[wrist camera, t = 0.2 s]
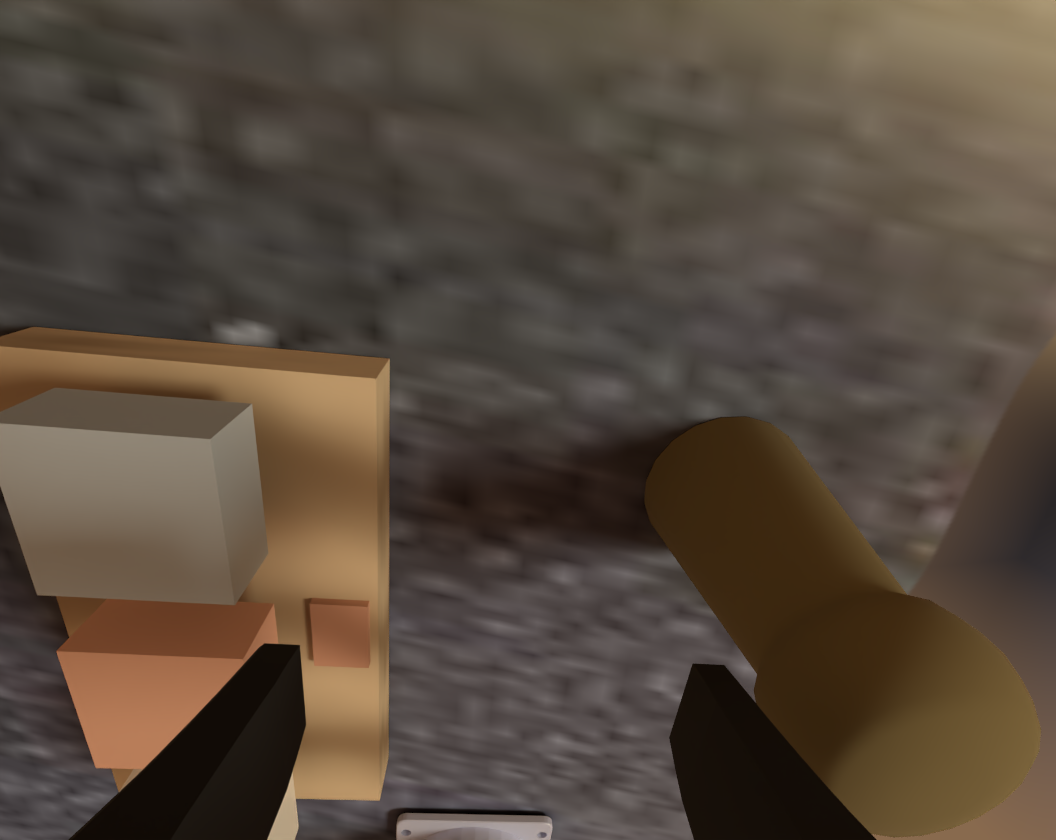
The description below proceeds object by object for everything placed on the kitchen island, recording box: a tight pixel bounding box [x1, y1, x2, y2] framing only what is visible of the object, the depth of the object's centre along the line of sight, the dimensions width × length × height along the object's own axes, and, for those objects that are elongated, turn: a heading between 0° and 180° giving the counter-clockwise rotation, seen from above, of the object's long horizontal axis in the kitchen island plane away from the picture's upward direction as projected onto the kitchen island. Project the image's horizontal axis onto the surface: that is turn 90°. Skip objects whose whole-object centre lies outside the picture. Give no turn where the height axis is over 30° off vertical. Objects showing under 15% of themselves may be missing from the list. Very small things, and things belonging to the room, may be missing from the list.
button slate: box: [0, 388, 268, 605], centre depth 14 cm, size 5×5×2 cm
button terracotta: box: [56, 599, 278, 769], centre depth 17 cm, size 5×5×2 cm
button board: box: [0, 327, 390, 800], centre depth 19 cm, size 20×11×3 cm, turn 174°
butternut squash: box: [644, 417, 1041, 837], centre depth 15 cm, size 6×6×11 cm
